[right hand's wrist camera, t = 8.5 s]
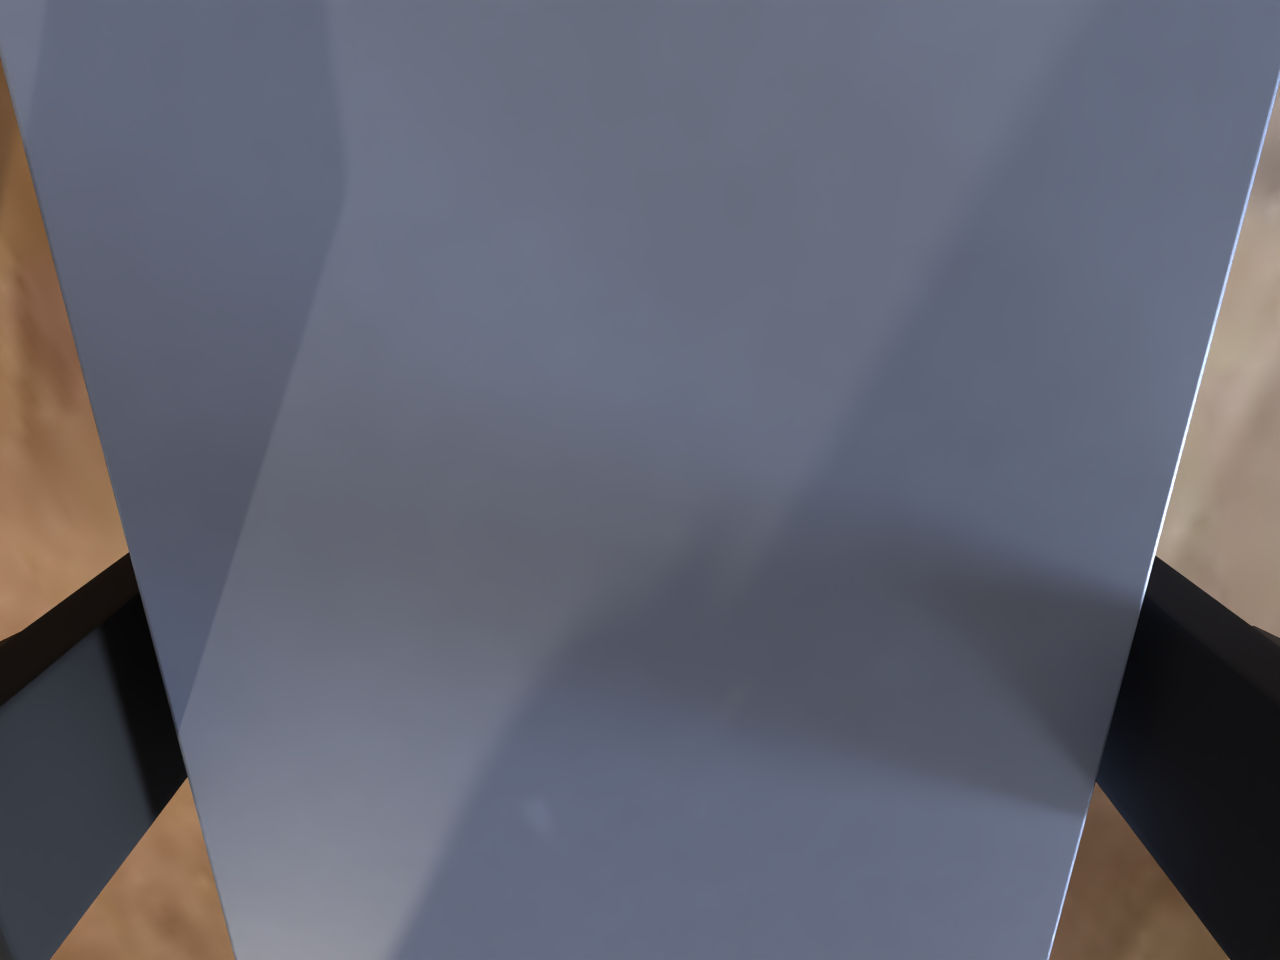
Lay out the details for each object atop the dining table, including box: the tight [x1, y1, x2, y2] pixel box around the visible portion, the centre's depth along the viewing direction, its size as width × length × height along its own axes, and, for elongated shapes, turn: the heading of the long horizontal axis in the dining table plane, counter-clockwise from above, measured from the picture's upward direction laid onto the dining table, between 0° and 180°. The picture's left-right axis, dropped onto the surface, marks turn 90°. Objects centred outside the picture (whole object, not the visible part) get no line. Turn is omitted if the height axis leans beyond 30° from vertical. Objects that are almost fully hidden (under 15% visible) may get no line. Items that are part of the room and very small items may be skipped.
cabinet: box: [0, 0, 1280, 960], centre depth 12 cm, size 18×10×11 cm, turn 0°
